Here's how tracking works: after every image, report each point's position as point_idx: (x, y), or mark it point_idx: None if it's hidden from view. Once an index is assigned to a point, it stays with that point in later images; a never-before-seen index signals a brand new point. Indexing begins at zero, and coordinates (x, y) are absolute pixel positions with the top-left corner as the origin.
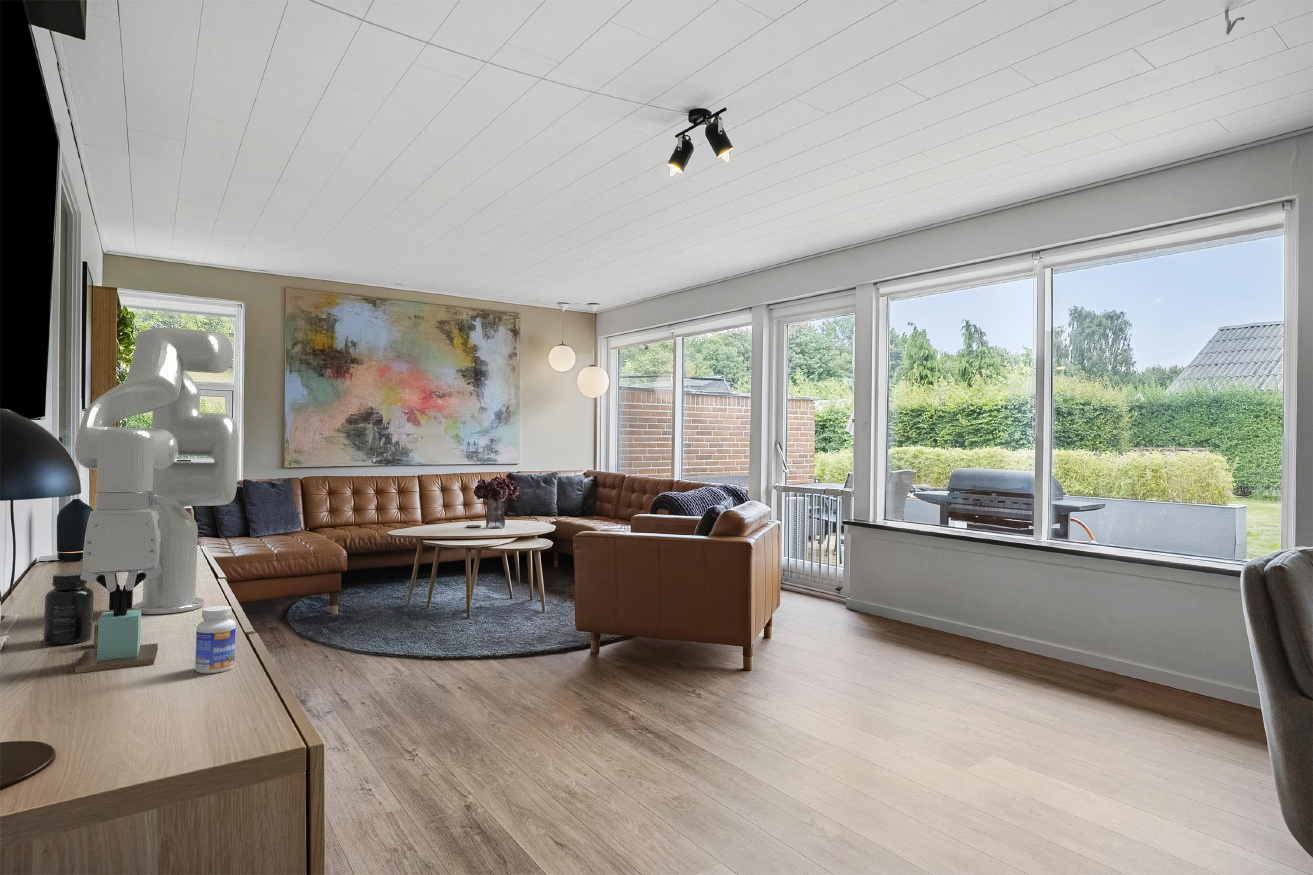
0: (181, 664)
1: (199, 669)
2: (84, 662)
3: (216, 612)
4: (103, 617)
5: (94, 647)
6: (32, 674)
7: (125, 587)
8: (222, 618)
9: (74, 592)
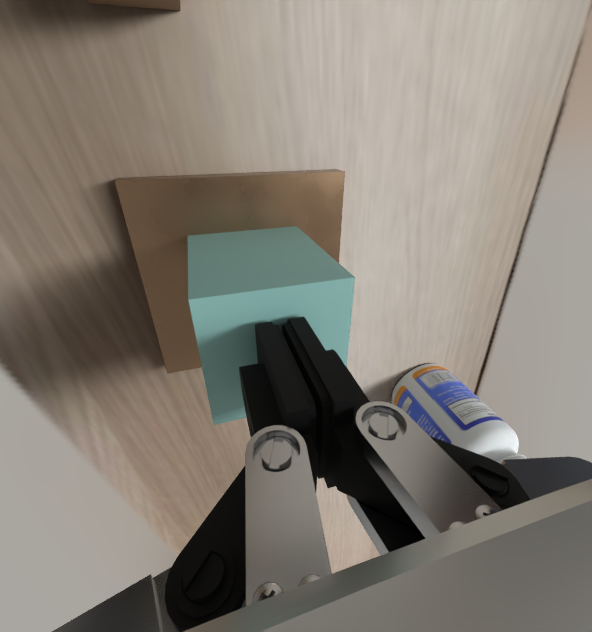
0: (375, 347)
1: None
2: (176, 340)
3: None
4: (224, 399)
5: (91, 3)
6: (46, 346)
7: (349, 497)
8: None
9: None
